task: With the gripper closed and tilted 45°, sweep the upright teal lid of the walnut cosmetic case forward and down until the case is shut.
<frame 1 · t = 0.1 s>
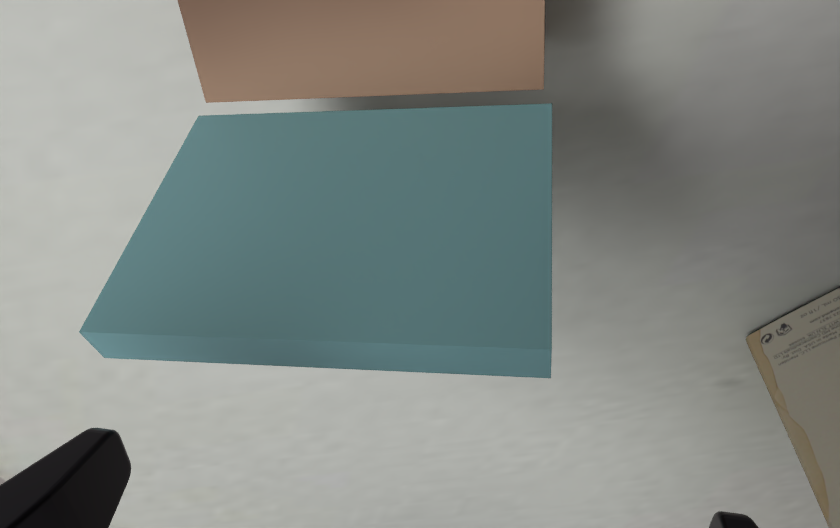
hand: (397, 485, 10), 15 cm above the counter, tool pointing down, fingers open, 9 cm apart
lid: (342, 222, 15), point 8 cm above the counter, hinge at 108.0°
skincare box: (839, 353, 24), on the counter
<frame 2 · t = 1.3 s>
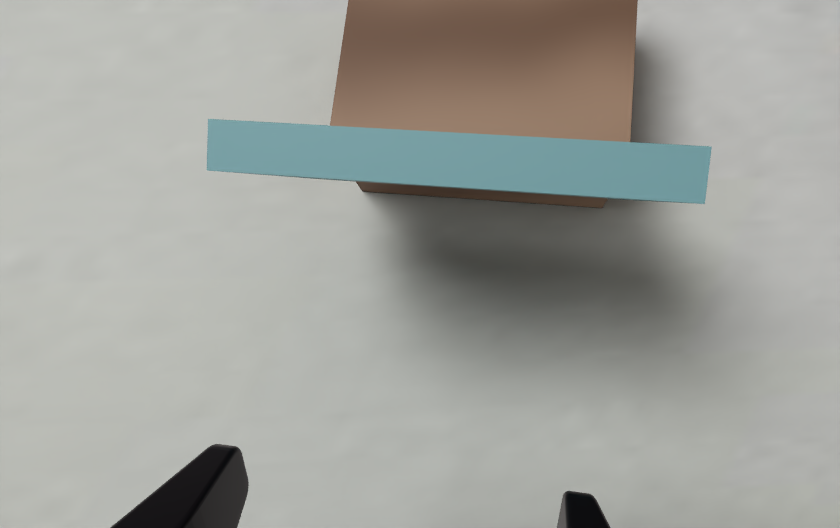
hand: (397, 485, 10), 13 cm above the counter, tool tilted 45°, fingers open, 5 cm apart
case: (487, 112, 24), on the counter
lid: (460, 167, 15), point 8 cm above the counter, hinge at 108.0°
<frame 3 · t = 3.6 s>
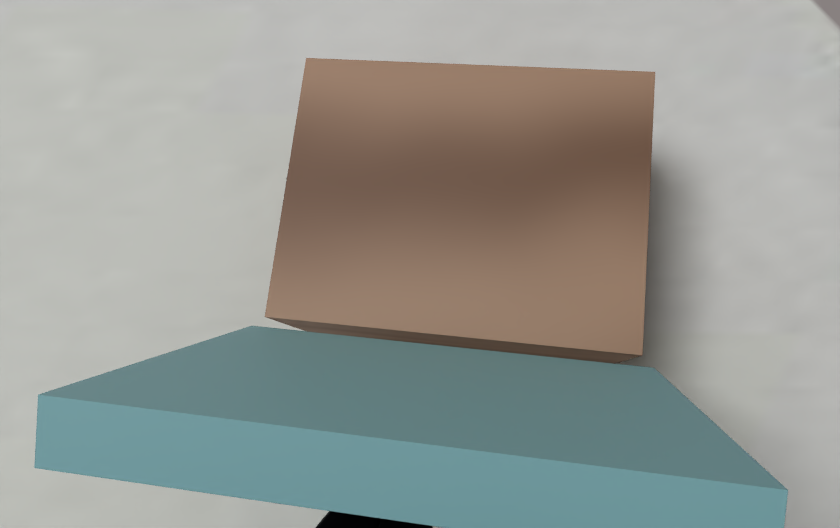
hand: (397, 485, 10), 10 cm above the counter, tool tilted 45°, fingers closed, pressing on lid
case: (469, 242, 21), on the counter
lid: (419, 405, 11), point 9 cm above the counter, hinge at 103.9°, touching gripper
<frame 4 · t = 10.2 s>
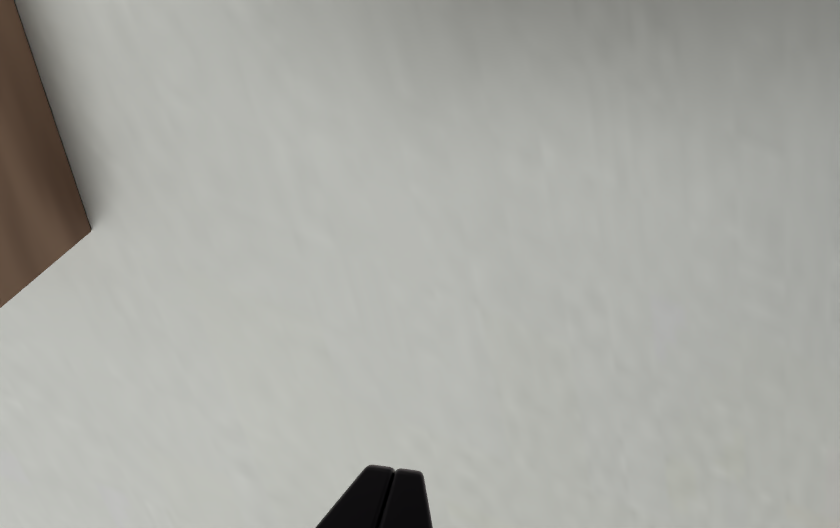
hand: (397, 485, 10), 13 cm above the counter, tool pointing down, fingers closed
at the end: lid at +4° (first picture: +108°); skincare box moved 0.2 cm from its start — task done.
